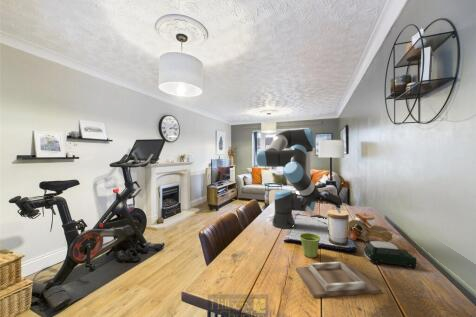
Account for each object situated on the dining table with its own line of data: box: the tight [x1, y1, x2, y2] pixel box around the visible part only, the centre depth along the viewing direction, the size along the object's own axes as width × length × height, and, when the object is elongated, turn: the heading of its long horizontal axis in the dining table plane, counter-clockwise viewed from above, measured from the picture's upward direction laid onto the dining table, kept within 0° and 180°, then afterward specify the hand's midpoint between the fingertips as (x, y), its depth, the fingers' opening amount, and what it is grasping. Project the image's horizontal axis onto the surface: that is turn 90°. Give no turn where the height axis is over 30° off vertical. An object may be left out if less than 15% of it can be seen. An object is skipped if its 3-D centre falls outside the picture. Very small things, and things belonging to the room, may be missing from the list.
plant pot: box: [299, 232, 321, 259], centre depth 94 cm, size 9×9×9 cm
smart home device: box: [312, 214, 328, 219], centre depth 143 cm, size 8×2×20 cm
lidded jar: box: [354, 212, 375, 229], centre depth 128 cm, size 11×11×9 cm
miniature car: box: [363, 240, 418, 270], centre depth 87 cm, size 9×18×8 cm, turn 74°
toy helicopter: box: [347, 213, 393, 243], centre depth 106 cm, size 8×21×14 cm, turn 39°
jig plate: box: [295, 261, 383, 299], centre depth 74 cm, size 24×16×3 cm, turn 95°
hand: (325, 212), depth 97 cm, fingers open, 13 cm apart
